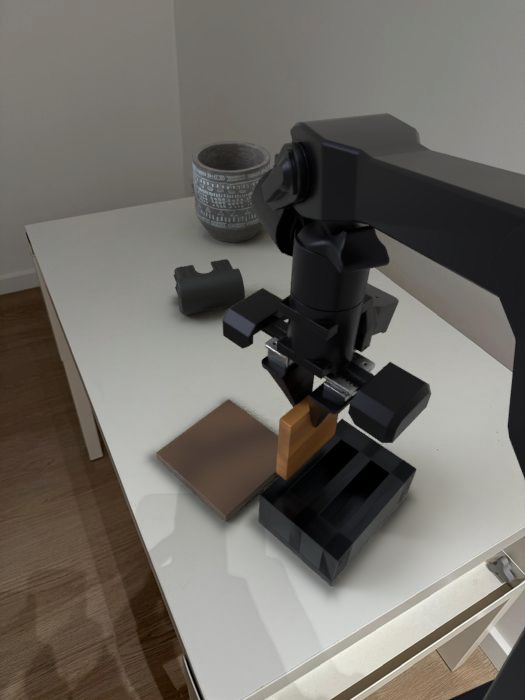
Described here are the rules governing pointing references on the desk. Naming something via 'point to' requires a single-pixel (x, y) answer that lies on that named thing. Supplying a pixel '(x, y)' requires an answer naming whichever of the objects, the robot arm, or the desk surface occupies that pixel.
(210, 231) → the planter
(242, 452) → the board
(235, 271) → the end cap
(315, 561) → the toaster
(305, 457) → the toast
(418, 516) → the desk surface
